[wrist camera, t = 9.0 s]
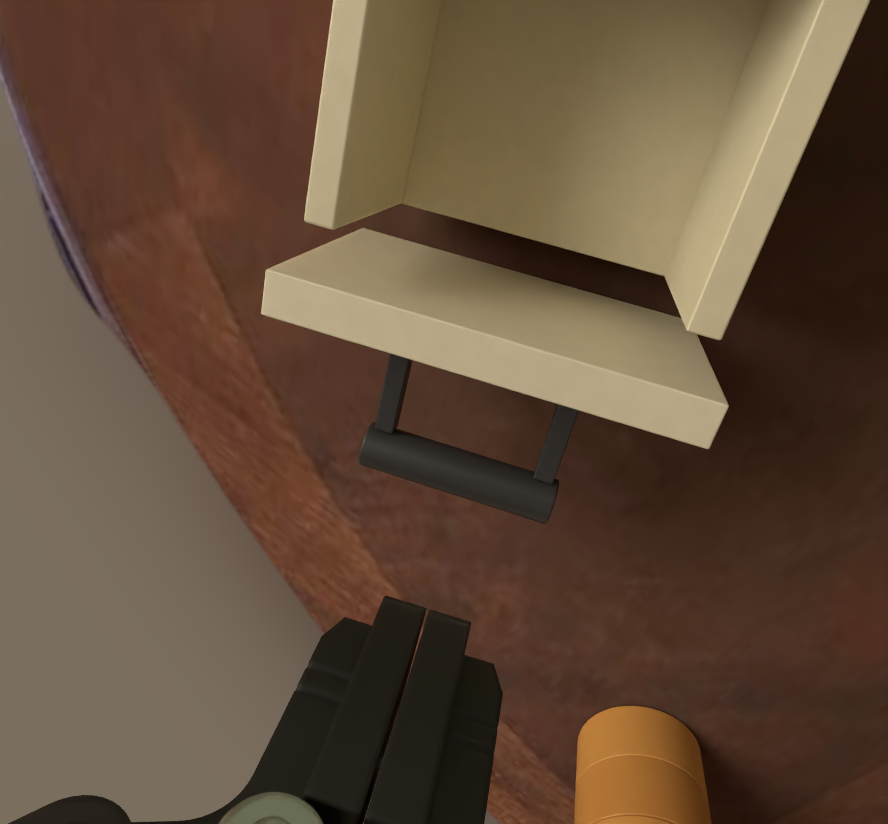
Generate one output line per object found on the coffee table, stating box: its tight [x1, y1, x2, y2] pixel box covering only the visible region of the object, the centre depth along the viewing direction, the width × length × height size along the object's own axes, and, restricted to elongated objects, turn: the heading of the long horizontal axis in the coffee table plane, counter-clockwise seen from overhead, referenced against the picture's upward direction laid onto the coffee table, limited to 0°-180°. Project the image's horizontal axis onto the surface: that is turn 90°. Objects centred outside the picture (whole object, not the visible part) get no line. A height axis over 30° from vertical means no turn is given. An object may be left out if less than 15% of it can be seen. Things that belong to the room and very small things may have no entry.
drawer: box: [261, 0, 870, 524], centre depth 18 cm, size 18×11×7 cm, turn 167°
